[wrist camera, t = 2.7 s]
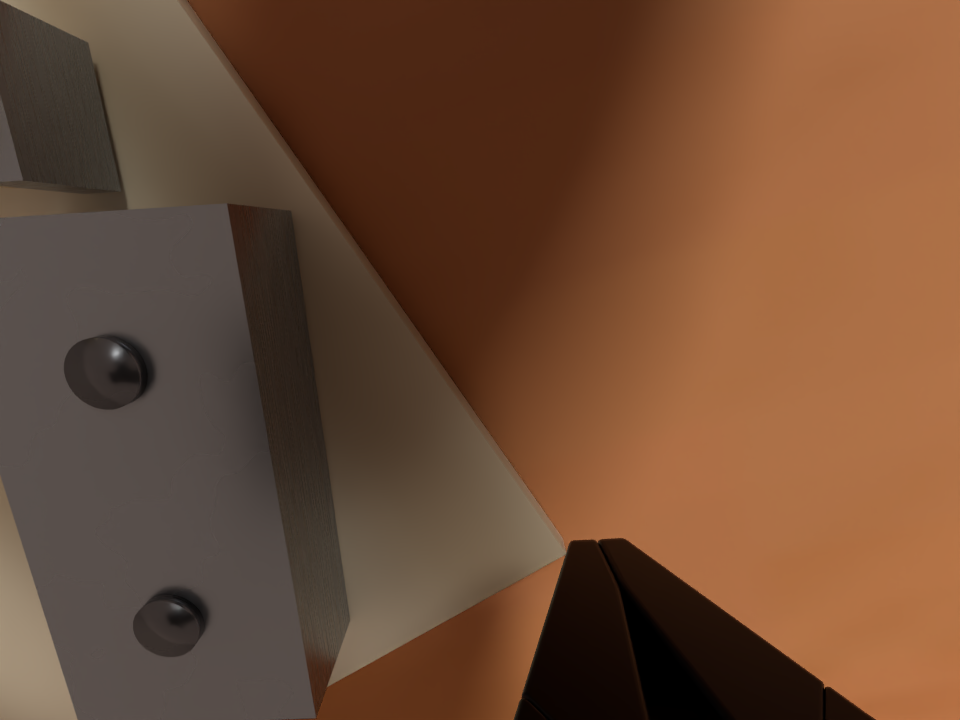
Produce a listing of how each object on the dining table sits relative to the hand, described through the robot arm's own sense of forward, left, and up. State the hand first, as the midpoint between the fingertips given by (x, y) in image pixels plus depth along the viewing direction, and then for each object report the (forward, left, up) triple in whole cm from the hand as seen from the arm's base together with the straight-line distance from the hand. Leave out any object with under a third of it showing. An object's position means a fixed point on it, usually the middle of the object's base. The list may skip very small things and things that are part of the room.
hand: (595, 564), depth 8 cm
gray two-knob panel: (+5, -6, -3) cm, 8 cm away
